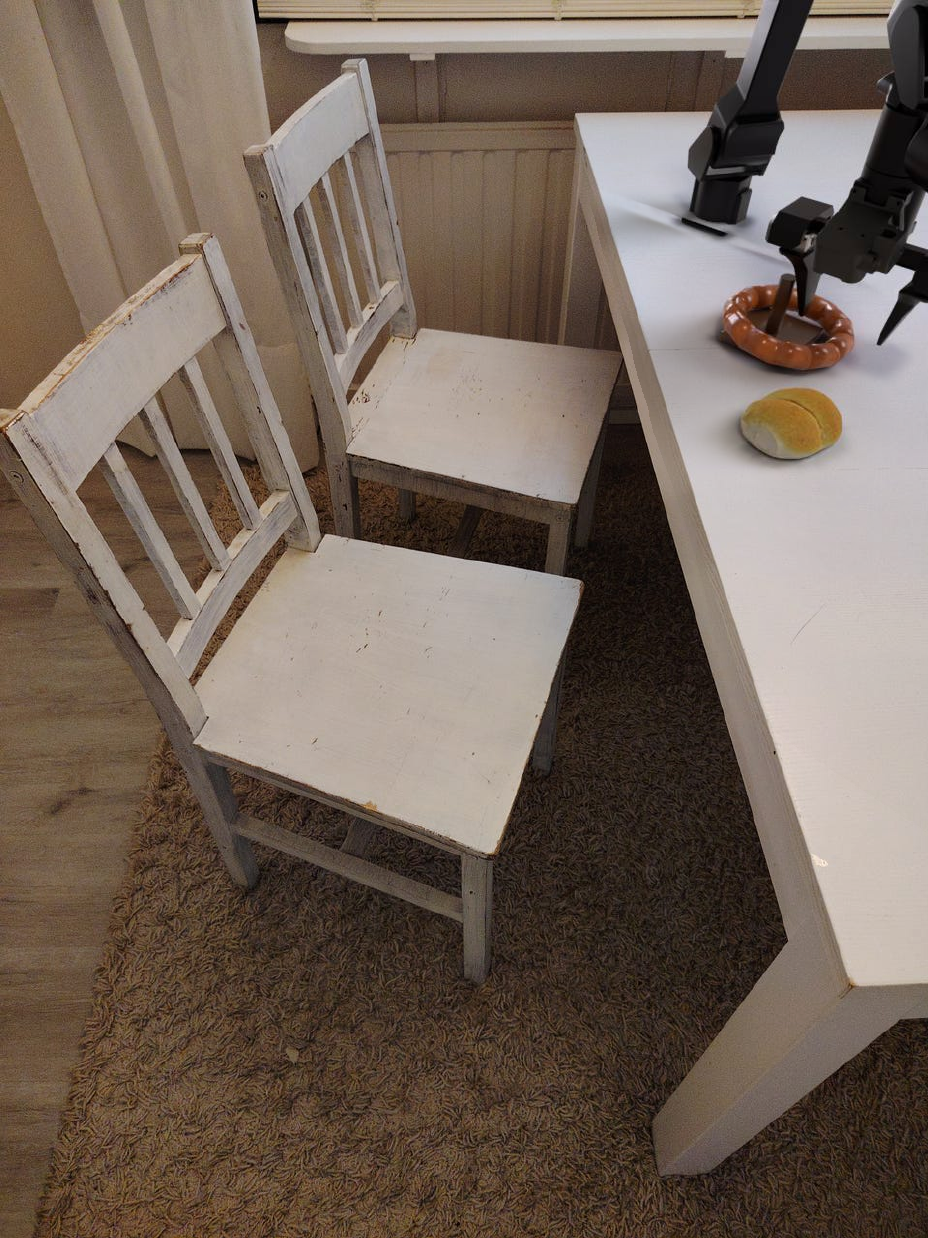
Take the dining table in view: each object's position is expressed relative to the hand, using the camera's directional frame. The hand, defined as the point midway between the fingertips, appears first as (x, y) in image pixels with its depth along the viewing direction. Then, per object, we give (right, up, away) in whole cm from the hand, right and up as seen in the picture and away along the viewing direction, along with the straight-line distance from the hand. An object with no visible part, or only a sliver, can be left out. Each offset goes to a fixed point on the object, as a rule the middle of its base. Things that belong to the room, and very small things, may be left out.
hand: (840, 329), depth 81 cm
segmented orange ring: (-4, +2, +4) cm, 6 cm away
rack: (-5, +1, +6) cm, 8 cm away
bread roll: (-7, -12, -5) cm, 15 cm away
